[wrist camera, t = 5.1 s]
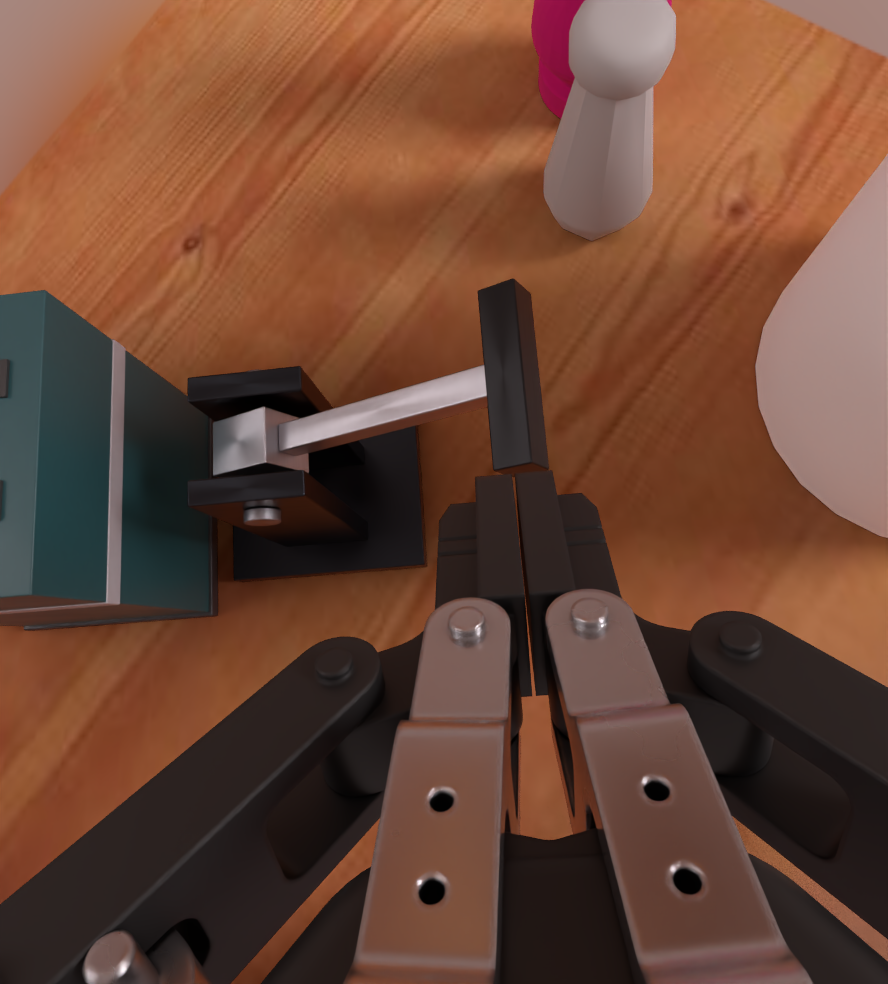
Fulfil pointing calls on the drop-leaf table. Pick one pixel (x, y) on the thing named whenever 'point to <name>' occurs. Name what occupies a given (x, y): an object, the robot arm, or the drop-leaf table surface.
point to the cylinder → (835, 364)
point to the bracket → (313, 490)
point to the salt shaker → (609, 115)
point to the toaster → (96, 479)
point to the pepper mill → (554, 49)
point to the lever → (414, 404)
